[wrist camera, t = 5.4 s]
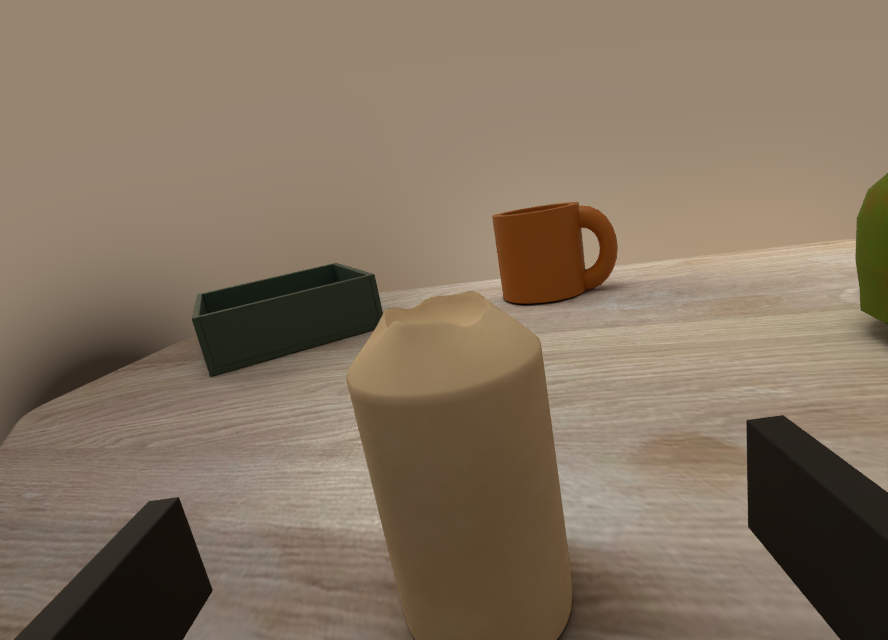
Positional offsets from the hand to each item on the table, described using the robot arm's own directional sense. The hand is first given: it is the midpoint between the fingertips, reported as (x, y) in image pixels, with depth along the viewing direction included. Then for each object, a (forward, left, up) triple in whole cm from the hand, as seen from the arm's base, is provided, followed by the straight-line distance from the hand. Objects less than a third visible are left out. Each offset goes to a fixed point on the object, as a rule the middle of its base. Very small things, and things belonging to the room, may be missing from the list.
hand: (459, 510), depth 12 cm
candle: (+1, +3, -6) cm, 7 cm away
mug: (+27, +33, -6) cm, 43 cm away
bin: (+1, +48, -6) cm, 48 cm away
